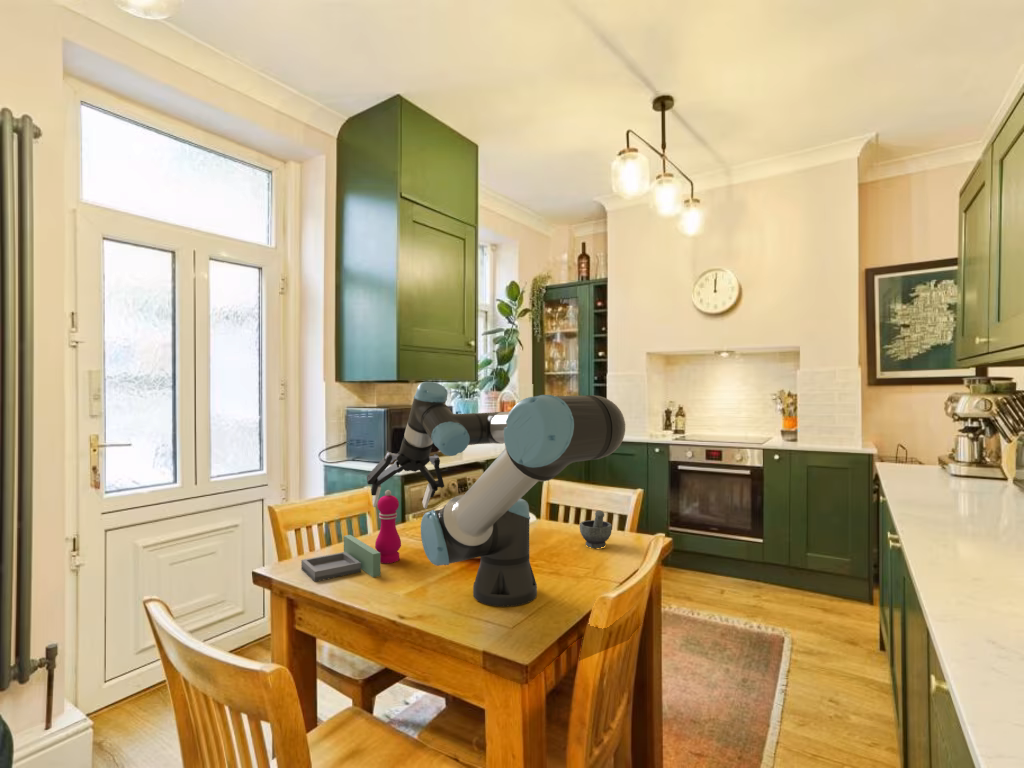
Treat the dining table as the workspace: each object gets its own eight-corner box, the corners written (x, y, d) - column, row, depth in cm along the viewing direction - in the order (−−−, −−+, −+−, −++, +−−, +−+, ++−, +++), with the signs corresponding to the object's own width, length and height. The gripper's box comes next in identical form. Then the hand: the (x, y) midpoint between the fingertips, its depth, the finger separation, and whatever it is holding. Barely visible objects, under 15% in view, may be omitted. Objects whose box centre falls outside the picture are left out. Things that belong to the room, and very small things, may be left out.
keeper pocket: (360, 572, 143) (360, 562, 143) (314, 581, 136) (314, 571, 136) (345, 560, 152) (345, 551, 152) (301, 569, 145) (301, 559, 145)
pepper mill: (404, 556, 156) (404, 487, 156) (396, 564, 149) (396, 492, 149) (380, 555, 157) (380, 487, 157) (371, 563, 150) (371, 492, 150)
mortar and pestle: (577, 542, 170) (577, 504, 170) (606, 541, 171) (605, 503, 171) (585, 553, 159) (585, 512, 159) (616, 551, 160) (616, 511, 160)
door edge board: (380, 575, 140) (380, 552, 140) (373, 577, 139) (373, 554, 139) (350, 555, 157) (350, 534, 157) (343, 556, 156) (343, 535, 156)
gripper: (461, 435, 142) (441, 496, 151) (366, 426, 132) (351, 493, 141) (468, 452, 136) (447, 515, 145) (369, 444, 126) (352, 512, 135)
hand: (399, 504), depth 143 cm, fingers open, 13 cm apart
